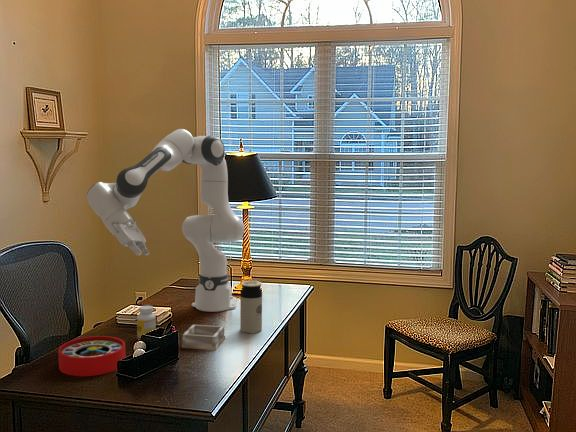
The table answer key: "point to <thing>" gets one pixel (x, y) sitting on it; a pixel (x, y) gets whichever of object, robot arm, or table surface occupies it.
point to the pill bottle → (145, 321)
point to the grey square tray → (203, 337)
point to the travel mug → (251, 307)
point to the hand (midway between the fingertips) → (143, 254)
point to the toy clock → (91, 355)
